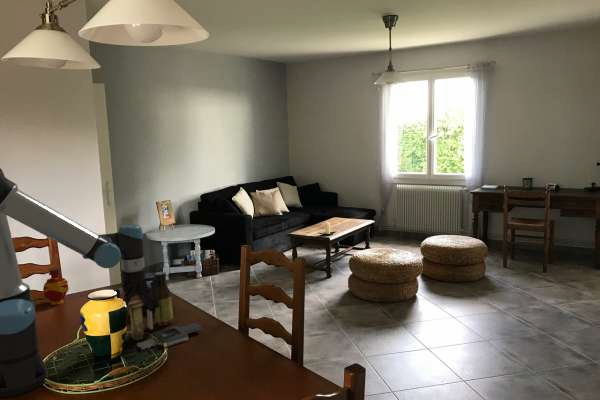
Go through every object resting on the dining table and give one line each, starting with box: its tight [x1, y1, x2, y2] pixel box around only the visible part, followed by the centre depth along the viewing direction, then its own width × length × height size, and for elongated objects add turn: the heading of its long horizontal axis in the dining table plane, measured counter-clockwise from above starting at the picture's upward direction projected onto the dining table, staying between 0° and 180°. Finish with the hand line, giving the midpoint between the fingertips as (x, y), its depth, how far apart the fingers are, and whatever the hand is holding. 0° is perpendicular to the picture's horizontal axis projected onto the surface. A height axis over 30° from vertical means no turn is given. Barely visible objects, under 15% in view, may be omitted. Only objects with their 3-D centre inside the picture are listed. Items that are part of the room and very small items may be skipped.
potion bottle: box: [42, 267, 70, 306], centre depth 202 cm, size 10×10×15 cm
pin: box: [127, 299, 145, 339], centre depth 164 cm, size 5×5×13 cm
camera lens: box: [138, 272, 156, 314], centre depth 190 cm, size 8×8×15 cm
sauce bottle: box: [154, 271, 174, 327], centre depth 176 cm, size 6×6×20 cm
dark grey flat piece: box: [136, 322, 203, 350], centre depth 163 cm, size 22×9×2 cm, turn 130°
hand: (137, 331), depth 164 cm, fingers open, 9 cm apart
